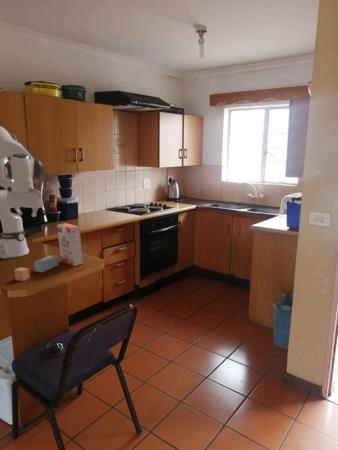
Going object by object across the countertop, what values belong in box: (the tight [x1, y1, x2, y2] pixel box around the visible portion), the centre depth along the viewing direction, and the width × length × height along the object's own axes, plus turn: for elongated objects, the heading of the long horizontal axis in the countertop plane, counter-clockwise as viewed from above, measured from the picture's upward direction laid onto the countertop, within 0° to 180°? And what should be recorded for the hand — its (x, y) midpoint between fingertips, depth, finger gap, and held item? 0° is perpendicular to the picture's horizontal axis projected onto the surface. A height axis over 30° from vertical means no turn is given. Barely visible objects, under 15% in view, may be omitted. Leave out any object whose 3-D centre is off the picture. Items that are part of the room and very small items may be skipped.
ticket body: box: [33, 254, 60, 273], centre depth 181 cm, size 5×12×5 cm, turn 156°
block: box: [14, 266, 31, 282], centre depth 167 cm, size 5×4×5 cm
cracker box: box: [56, 222, 84, 267], centre depth 186 cm, size 14×6×21 cm, turn 45°
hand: (26, 215), depth 172 cm, fingers open, 8 cm apart
